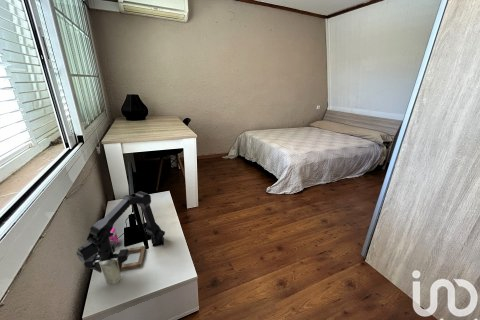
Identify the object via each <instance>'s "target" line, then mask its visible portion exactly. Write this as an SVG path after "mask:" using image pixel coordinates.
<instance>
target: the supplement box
mask: <svg viewBox="0 0 480 320" xmlns="http://www.w3.org/2000/svg"><path fill="white" fill-rule="evenodd" d="M110 232H111V233H113V235H112V236H110V237H109V238H110V242H112V241H116V246H118V244H119V238H118V234H117V229H116V227H113V228H112V230H111V231H110Z"/></svg>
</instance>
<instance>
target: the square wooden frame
mask: <svg viewBox="0 0 480 320" xmlns="http://www.w3.org/2000/svg"><path fill="white" fill-rule="evenodd" d="M145 247H146V245H141V246H136V247H135V246H134V247H128V248H127V249H128V250H129V255H131V254H137V253H139V257H138V261H134V262H130V263H129V262H128V263H122V268H121V269H120V268H119V271H120V272H122V271H129V270H133V269H134V270H135V269H139V268H143V265H144V264H143V263H144V260H145V256H146V250H147V248H146V249H145ZM124 249H125V248H124ZM124 249H120V250H124ZM116 260H117V264H118V258H116ZM118 267H119V265H118Z"/></svg>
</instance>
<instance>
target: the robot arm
mask: <svg viewBox="0 0 480 320" xmlns="http://www.w3.org/2000/svg"><path fill="white" fill-rule="evenodd" d="M151 203H152V196H151V195H150V194H149V193H146V192H143V191H137V192H136V193H135V192H134V193H130V194H128V195H124V196H123V197H122V200H120V202H119V203H117V205H116V206H115V207H114V208H113V209H112V210H111V211H110V212H109V213H108V214H107V215H106V216H105V217H104V218H101V219H99V220H98V221H96V222H95V223H94V224H93V225H91V227H90V228H89V229H90V230H89V233H88V235H87V238H86V241H87V243H86V244H83V245H82V246H80V247H78V248H77V251H76V254H75V255H76V256H77V258H78V260H79V261H80V262H82V263H83V266H84V268H85V269H91V270H93V271H96V272H97V273H100V274H101V273H103V271H102V268H101V265H100V264H101V262H104V261H107V260H111V259H113V260H115V259H117V258H118V265H119V268H120V269H121V268H122V264H124V263H125V262H127V261H128V258H129V255H130V254H129V250H128V248H124V250H121V249H120V250H119V252H117V253H116V248H118V247H117V246H118V245H117V246H116V241H112V242H110V238H109V237H110V236H112V235H113V233H111V232H110V231H111V230H112V228H114V225H115V223H116V221H118V220H119V219H120V217H121V216H122V215H123V214H124V213H125V212H126V210H128V208H130V206H131V205H134V204H135V205H138V206H139V207H140V210H141V211H142V215H143V217H144V221H145V223H146V227H144V230H145V229H146V231H145V233H146V232H147V235H149V236H151V237H150V239H151V240H150V241H151V244H152V247H159V246H163V245H164V241H165V237H164V236H165V234H166V231H165V230H162V229H161V227H160V226H159V225H158V223H156V219H155V216H154V213H153V211H152V208H151ZM95 237H96V238H95Z"/></svg>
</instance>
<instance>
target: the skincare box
mask: <svg viewBox="0 0 480 320" xmlns="http://www.w3.org/2000/svg"><path fill="white" fill-rule="evenodd" d="M99 264H100V266H101V270H102V274H103V277H104V279H105V280H104V281H105V283H108V284H112V285H116V284H118V282H119V281H120V280H121V279H122V275H121V271H119V267H118V264H117V259H111V260H107V261H102V263H99Z"/></svg>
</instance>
